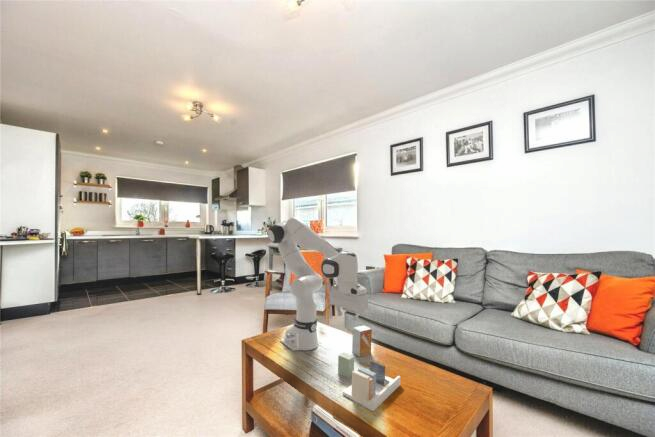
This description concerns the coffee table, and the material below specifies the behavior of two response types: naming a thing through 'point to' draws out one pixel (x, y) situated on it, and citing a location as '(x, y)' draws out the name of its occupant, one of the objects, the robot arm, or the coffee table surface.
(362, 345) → the small box
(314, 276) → the robot arm
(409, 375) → the coffee table surface
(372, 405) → the slotted holder
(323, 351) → the coffee table surface
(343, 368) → the sage green cuboid
